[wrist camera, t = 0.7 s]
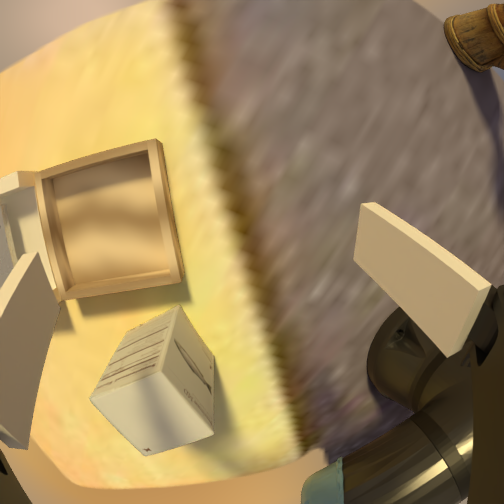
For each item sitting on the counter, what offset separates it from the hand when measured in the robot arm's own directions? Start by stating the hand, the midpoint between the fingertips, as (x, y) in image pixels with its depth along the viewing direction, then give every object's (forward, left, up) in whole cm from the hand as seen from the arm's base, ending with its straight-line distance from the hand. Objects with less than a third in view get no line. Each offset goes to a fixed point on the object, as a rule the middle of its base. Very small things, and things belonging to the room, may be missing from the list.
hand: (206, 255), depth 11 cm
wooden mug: (+18, -38, -19) cm, 46 cm away
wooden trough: (+1, +10, -18) cm, 21 cm away
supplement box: (-13, +7, -19) cm, 24 cm away
